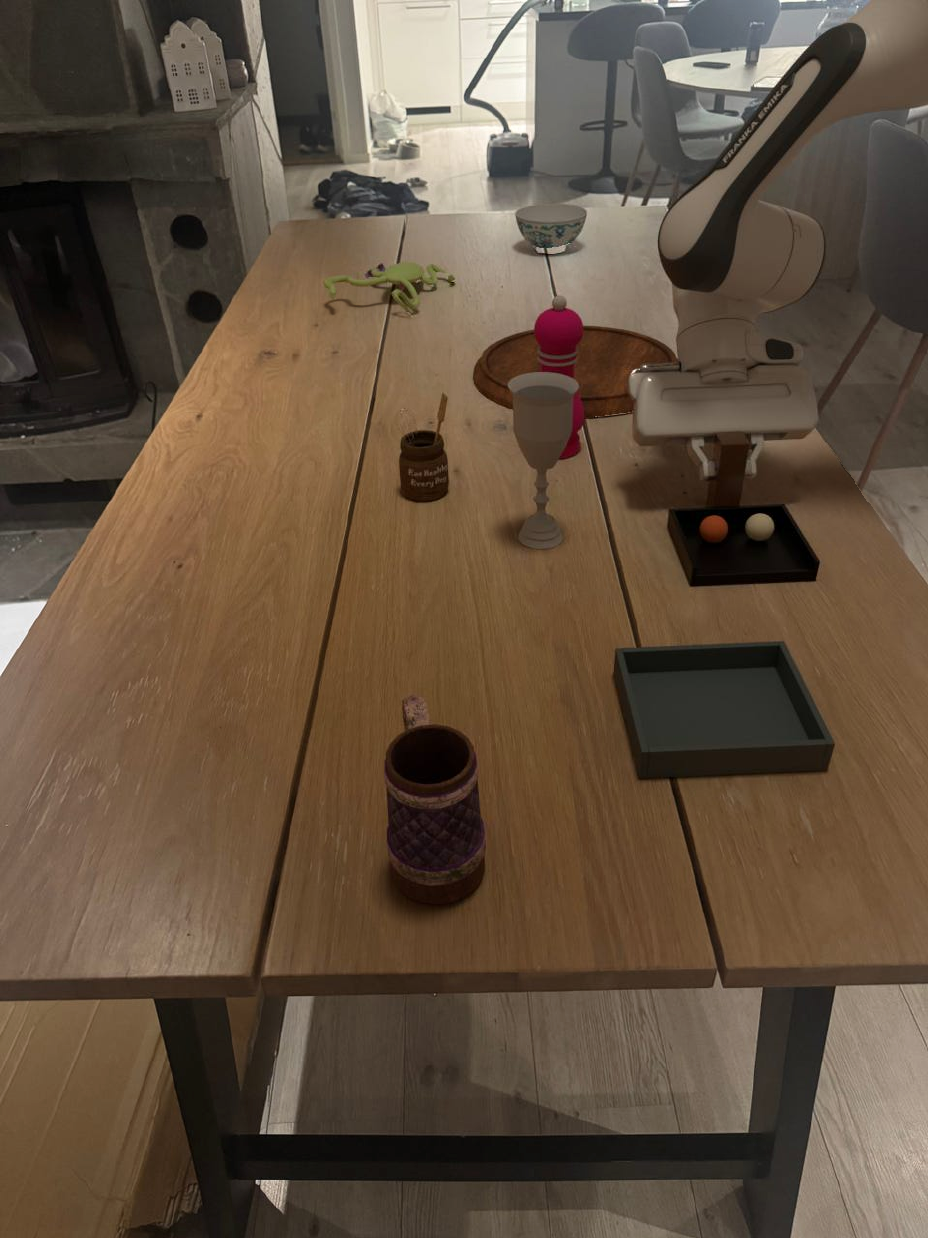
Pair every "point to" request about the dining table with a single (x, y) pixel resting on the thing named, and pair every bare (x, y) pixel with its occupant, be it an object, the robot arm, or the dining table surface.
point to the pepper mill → (561, 355)
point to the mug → (433, 809)
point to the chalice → (542, 441)
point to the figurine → (393, 280)
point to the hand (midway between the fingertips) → (728, 478)
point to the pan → (739, 531)
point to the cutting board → (575, 366)
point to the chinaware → (550, 224)
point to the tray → (719, 710)
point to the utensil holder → (424, 461)
